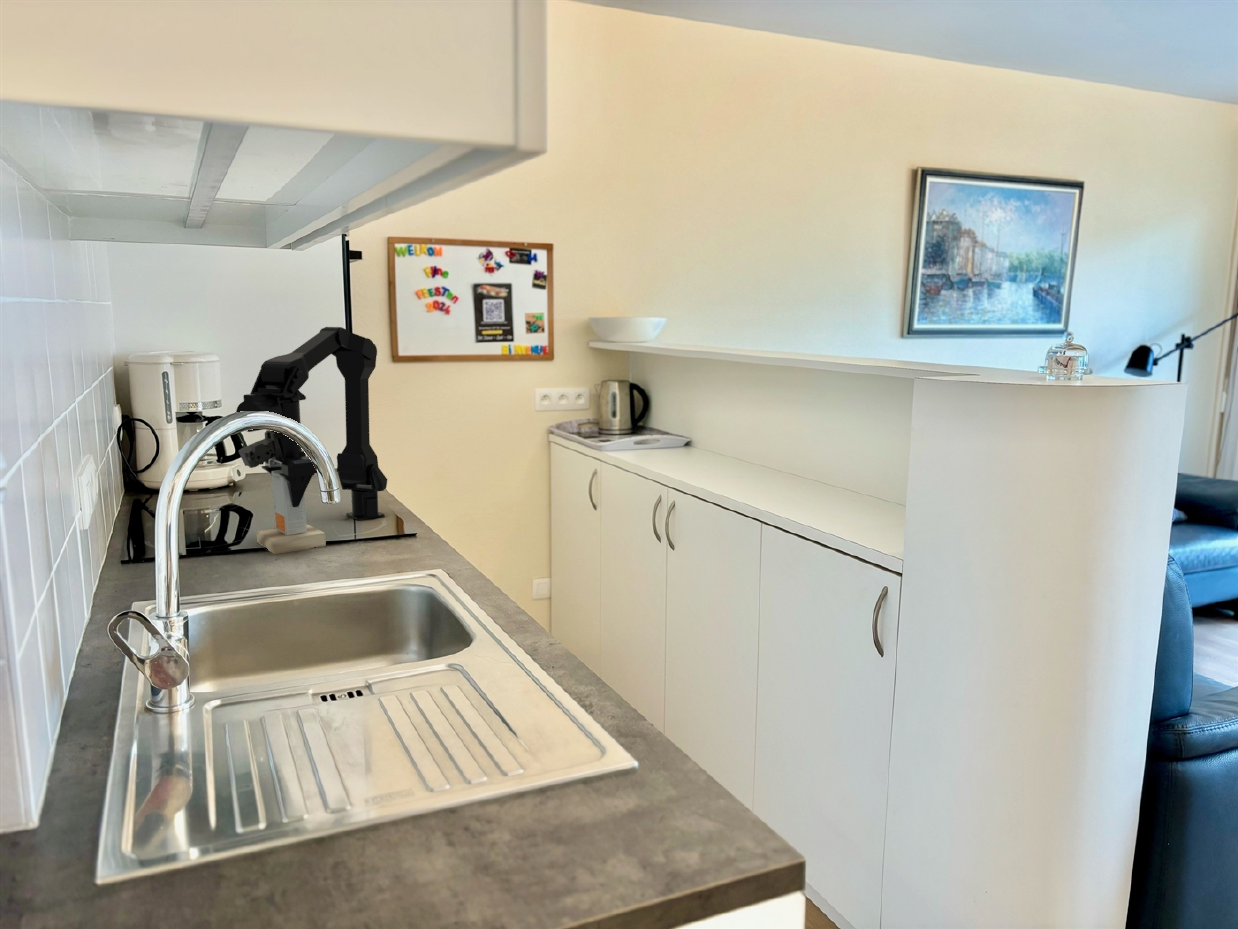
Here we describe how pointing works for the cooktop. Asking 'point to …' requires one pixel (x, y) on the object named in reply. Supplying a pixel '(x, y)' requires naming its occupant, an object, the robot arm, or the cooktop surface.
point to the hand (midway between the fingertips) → (289, 504)
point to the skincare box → (287, 508)
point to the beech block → (290, 540)
